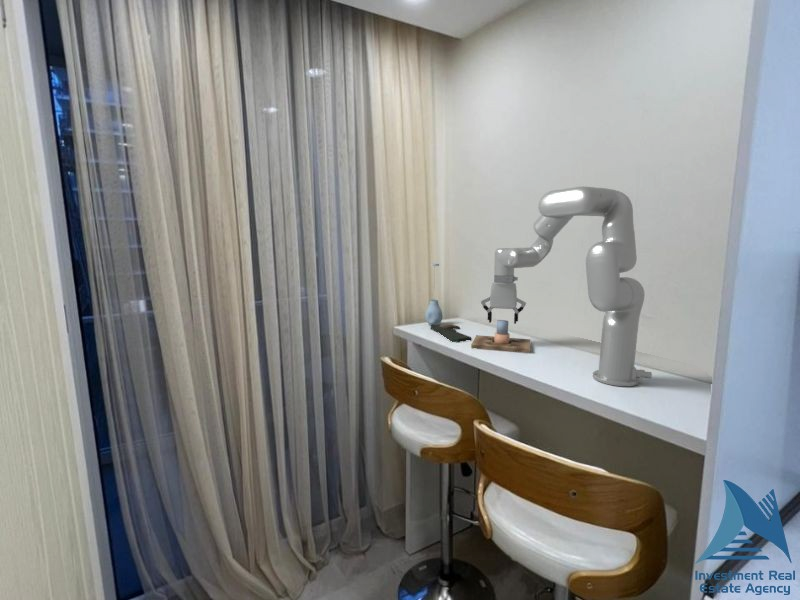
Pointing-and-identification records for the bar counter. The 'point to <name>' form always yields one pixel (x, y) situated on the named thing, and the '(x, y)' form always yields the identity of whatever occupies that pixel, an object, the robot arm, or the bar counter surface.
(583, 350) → the bar counter surface
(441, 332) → the firearm
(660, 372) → the bar counter surface
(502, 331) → the blue-grey rounded cylinder
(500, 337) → the tan rounded lump
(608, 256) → the robot arm
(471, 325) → the bar counter surface
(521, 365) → the bar counter surface
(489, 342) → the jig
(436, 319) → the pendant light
